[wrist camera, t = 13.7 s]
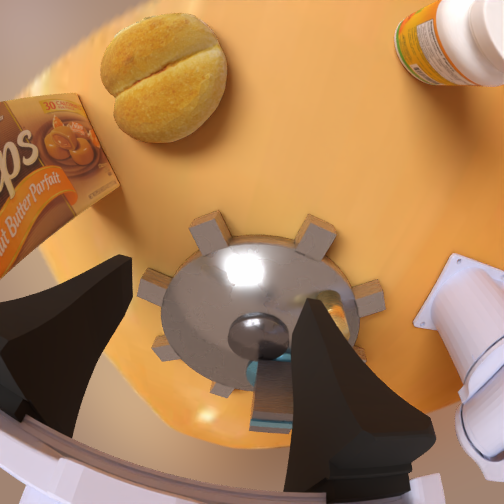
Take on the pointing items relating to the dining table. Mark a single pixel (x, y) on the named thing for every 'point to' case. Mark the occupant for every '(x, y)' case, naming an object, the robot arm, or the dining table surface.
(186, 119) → the bread roll
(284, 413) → the marked link block
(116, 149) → the dining table surface
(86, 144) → the candy box
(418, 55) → the supplement bottle
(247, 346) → the sprocket disc
